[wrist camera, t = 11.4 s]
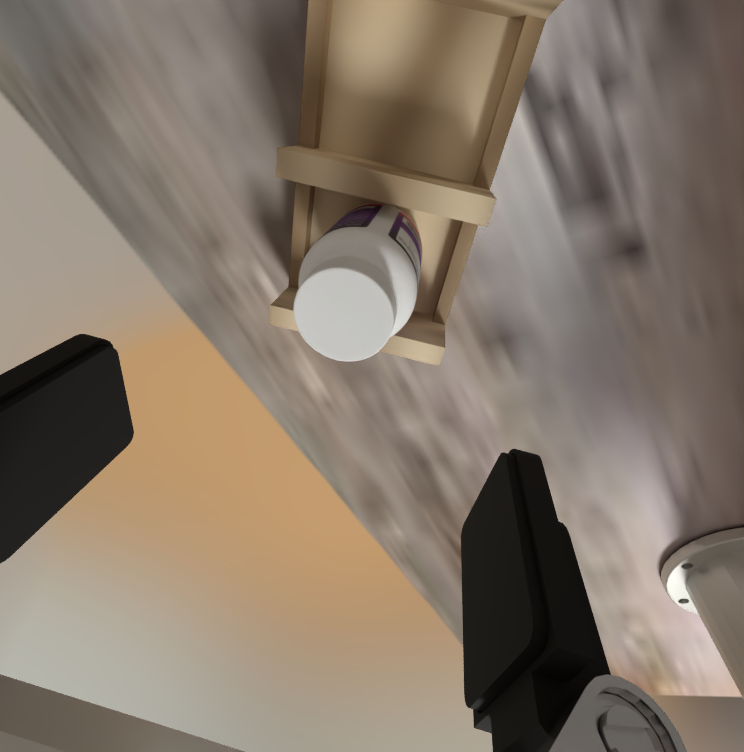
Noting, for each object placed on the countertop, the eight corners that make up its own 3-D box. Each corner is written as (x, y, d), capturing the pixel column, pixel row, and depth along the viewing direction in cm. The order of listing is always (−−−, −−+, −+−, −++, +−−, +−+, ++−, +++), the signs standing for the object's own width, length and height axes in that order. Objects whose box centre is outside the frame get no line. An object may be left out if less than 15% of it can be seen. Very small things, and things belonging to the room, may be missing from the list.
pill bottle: (324, 277, 24) (266, 352, 16) (345, 187, 21) (285, 224, 13) (405, 305, 24) (387, 393, 16) (437, 219, 21) (434, 276, 13)
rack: (546, -6, 17) (582, -52, 13) (439, 326, 26) (439, 365, 22) (327, -53, 17) (288, -114, 13) (298, 292, 26) (269, 324, 22)
